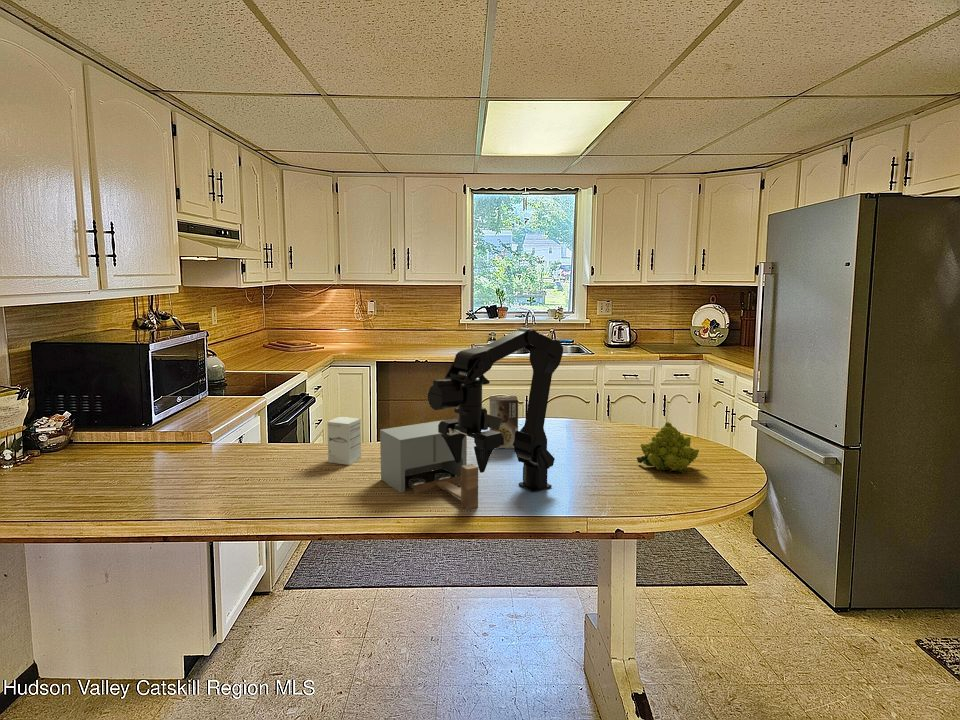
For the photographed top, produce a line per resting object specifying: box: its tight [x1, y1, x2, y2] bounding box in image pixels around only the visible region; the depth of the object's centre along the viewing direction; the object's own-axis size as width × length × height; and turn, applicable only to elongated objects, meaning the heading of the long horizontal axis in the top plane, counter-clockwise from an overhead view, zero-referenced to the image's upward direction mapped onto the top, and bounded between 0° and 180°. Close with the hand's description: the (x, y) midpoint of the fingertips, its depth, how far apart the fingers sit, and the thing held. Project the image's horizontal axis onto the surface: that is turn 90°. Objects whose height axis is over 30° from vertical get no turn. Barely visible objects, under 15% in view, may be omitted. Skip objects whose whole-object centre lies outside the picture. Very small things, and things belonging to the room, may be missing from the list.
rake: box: [412, 463, 479, 510], centre depth 155 cm, size 16×15×10 cm
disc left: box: [408, 477, 426, 489], centre depth 164 cm, size 4×4×2 cm
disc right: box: [434, 472, 452, 481], centre depth 168 cm, size 4×4×2 cm
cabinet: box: [379, 419, 468, 494], centre depth 168 cm, size 12×20×14 cm, turn 124°
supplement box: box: [327, 416, 362, 466], centre depth 183 cm, size 7×7×13 cm
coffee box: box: [489, 395, 519, 449], centre depth 200 cm, size 9×6×16 cm
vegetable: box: [636, 421, 700, 474], centre depth 178 cm, size 15×16×15 cm
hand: (470, 467), depth 149 cm, fingers open, 9 cm apart
